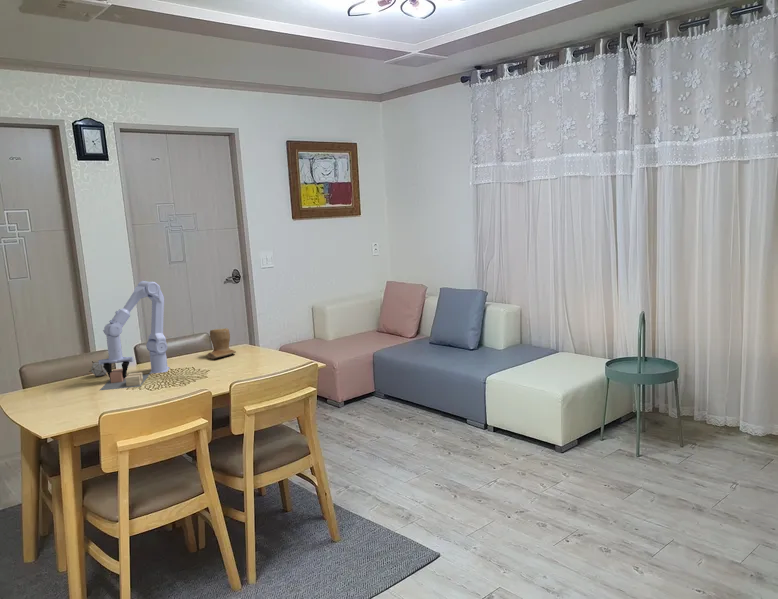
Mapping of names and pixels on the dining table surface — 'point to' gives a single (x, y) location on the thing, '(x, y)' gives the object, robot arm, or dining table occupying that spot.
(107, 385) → the mat
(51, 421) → the dining table surface
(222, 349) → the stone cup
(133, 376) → the maple block
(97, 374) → the game die
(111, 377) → the terracotta block
